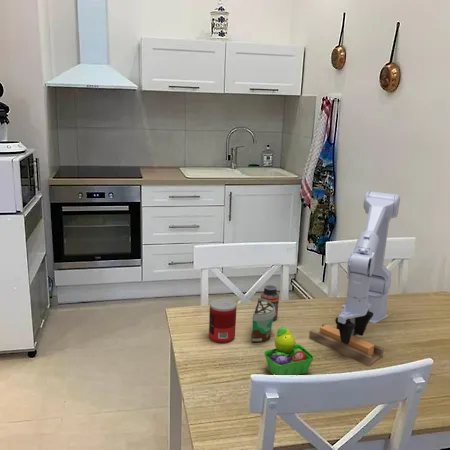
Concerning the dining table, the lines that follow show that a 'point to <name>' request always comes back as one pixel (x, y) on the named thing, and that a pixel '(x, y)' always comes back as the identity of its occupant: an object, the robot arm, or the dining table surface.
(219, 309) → the canned food
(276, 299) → the supplement bottle
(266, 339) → the food container
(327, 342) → the tray
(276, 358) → the fruit basket
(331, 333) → the shaft
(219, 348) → the dining table surface
